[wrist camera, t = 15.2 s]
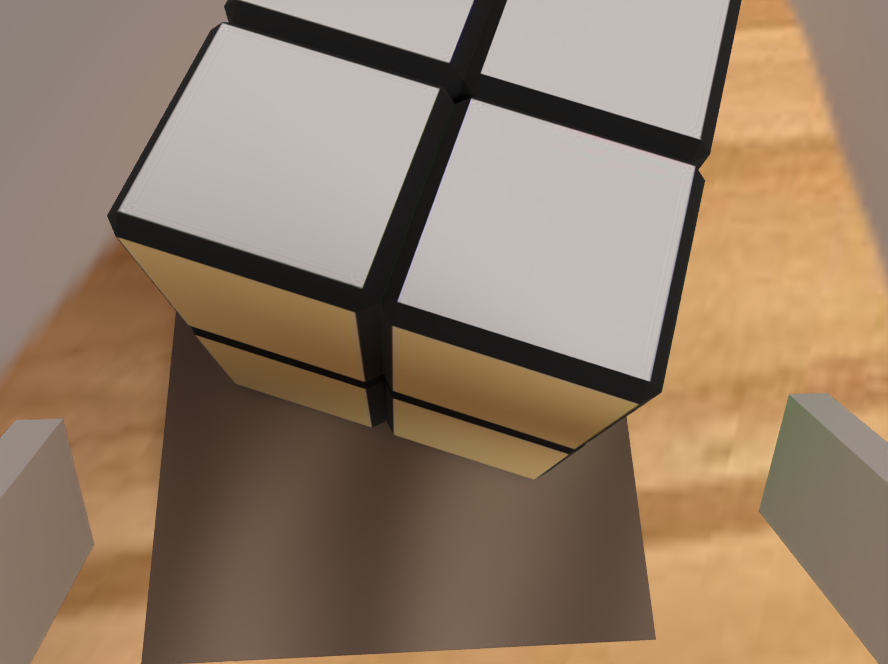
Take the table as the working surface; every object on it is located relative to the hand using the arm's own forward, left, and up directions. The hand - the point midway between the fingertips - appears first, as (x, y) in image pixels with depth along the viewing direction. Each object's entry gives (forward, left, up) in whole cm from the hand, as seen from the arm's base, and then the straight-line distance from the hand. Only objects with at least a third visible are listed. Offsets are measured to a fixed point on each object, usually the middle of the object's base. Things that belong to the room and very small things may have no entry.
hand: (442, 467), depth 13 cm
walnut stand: (-1, +3, -14) cm, 14 cm away
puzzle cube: (0, +7, -8) cm, 11 cm away
